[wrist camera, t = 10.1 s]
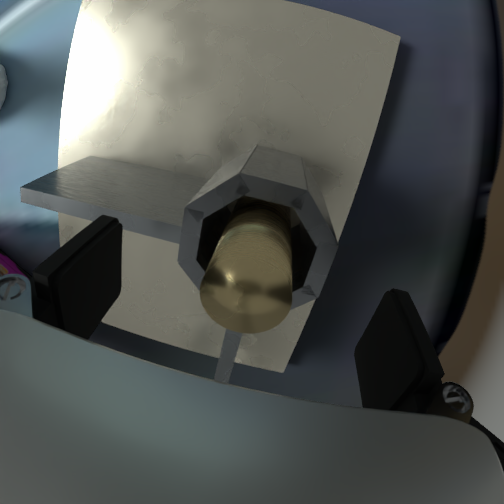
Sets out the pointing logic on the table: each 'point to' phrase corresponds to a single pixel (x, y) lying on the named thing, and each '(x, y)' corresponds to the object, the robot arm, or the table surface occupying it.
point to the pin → (251, 268)
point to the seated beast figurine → (3, 84)
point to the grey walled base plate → (213, 149)
